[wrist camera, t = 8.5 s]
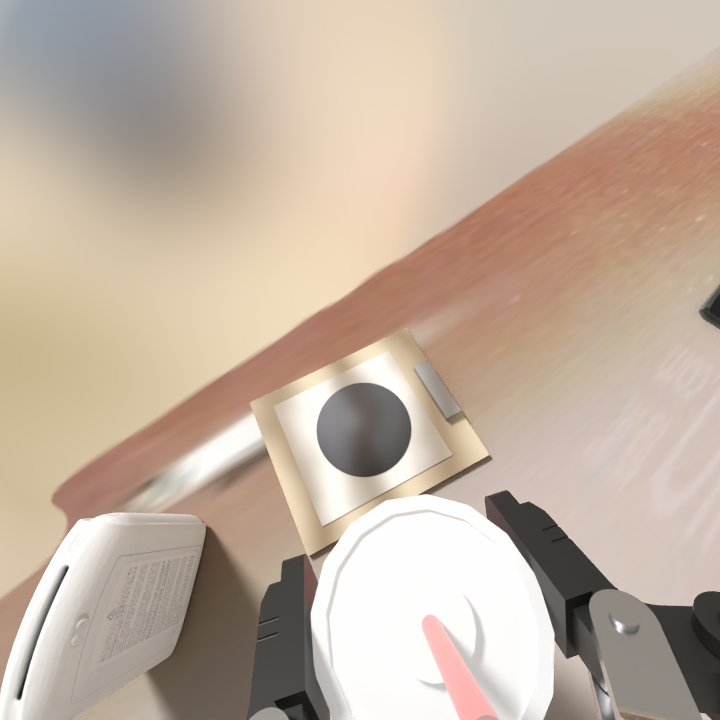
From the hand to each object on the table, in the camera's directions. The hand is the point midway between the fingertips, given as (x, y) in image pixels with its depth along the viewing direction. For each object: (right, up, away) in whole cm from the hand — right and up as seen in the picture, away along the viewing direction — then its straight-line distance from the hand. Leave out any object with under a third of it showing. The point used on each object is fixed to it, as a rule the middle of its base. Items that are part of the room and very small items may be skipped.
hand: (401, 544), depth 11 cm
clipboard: (-1, -1, +22) cm, 22 cm away
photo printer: (-17, -12, +17) cm, 27 cm away
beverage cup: (+1, -4, +6) cm, 7 cm away
